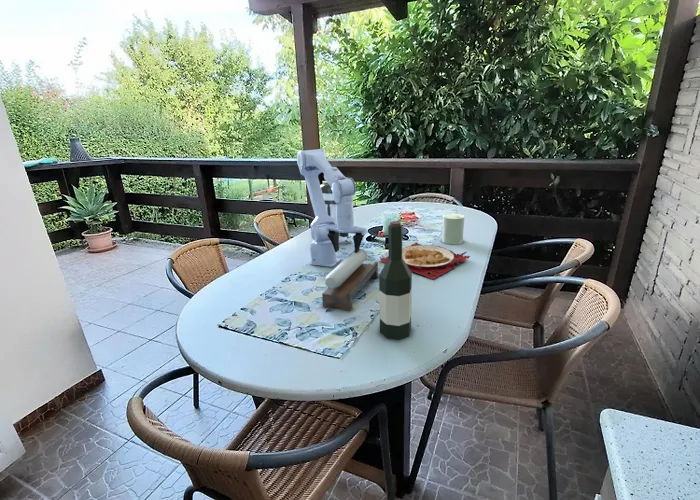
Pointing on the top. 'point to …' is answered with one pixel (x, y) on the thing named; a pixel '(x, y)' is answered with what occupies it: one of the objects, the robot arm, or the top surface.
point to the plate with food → (429, 259)
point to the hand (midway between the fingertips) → (346, 252)
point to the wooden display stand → (349, 287)
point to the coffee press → (332, 208)
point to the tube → (345, 269)
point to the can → (453, 228)
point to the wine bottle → (395, 289)
